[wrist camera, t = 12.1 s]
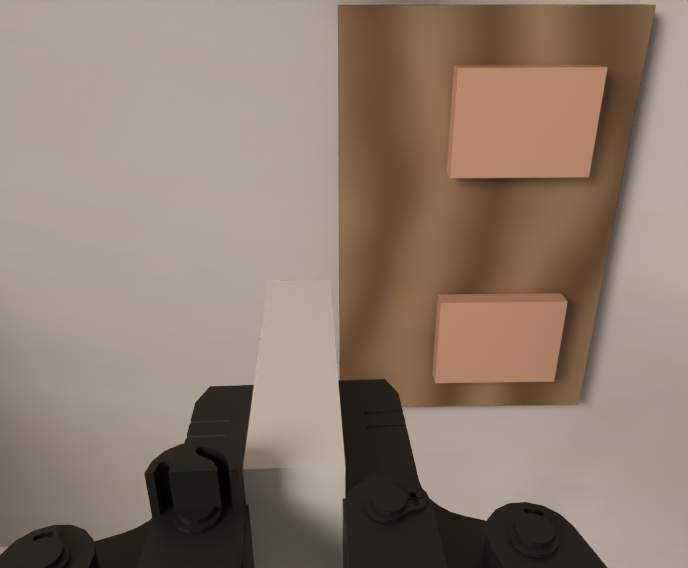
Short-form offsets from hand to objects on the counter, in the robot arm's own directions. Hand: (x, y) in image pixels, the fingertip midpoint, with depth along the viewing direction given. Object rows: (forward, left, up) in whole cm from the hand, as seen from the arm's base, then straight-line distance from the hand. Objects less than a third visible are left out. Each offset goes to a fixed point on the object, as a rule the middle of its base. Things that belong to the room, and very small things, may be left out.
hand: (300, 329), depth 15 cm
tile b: (+8, +1, -22) cm, 23 cm away
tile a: (+8, -13, -22) cm, 27 cm away
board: (+10, -6, -24) cm, 27 cm away
